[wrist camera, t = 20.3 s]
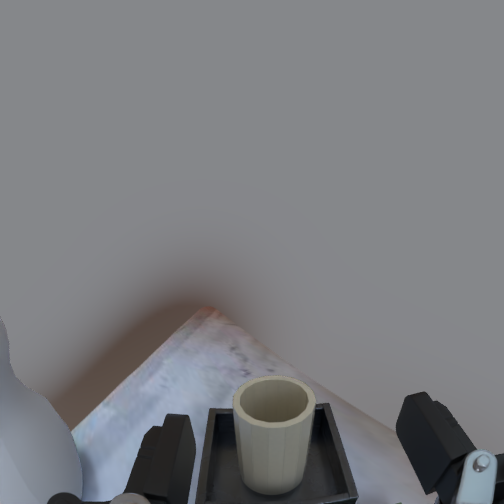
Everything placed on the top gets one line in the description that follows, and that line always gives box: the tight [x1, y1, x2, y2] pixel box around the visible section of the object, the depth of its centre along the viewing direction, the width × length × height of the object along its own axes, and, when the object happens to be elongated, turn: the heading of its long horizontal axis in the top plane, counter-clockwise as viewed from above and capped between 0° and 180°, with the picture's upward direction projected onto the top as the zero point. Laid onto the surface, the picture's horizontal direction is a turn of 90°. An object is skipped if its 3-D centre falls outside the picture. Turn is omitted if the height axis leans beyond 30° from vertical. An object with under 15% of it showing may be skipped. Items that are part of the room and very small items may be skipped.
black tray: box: [195, 403, 359, 504], centre depth 24 cm, size 14×14×4 cm
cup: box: [233, 375, 316, 495], centre depth 23 cm, size 7×7×11 cm
